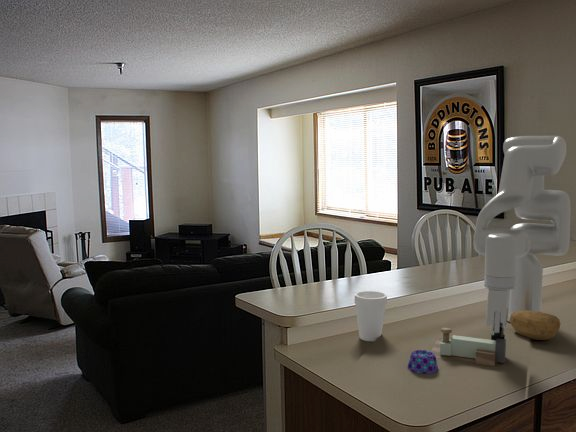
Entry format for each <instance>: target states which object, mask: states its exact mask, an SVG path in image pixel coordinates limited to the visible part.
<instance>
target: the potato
mask: <svg viewBox="0 0 576 432" xmlns="http://www.w3.org/2000/svg"><path fill="white" fill-rule="evenodd" d="M509 323H510V325H511V326H512V328H513V329H514V331H515V333H517V334H519V335H521V336H523V337H527V338H529V339H531V340H536V341H546V340H547V341H548V340H550V339H552V338H553V337H555V336H556V335H557V333H559V331H560V328H561V320H560V318H559V317H557V316H556V315H553V314H550V313H546V312H542V311H541V312H539V311H526V310H520V311H516V312H514V313H513V314H511V316H510V322H509Z"/></svg>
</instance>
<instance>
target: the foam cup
mask: <svg viewBox="0 0 576 432" xmlns="http://www.w3.org/2000/svg"><path fill="white" fill-rule="evenodd" d="M387 297H388V294H387V293H385V292H382V291H376V290H363V291H362V290H361V291H357V292H355V293H354V304H355V312H356V319H357V320H356V321H357V329H358V335H359V339H360V340H363V341H366V342H376V341H377V340H378V338H379V337H381V336H382V333H383V327H384V320H385V315H386V312H385V311H386V306H387V303H388V298H387Z"/></svg>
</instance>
